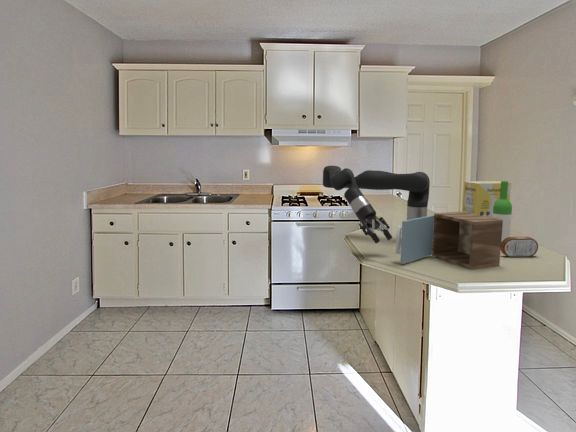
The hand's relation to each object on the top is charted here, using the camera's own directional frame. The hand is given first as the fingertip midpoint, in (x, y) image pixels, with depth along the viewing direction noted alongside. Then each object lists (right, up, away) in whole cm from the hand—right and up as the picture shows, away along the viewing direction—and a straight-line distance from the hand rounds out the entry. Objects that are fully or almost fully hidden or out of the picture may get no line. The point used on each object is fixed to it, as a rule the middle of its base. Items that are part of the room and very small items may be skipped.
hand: (384, 240), depth 184 cm
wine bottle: (+57, -4, +23) cm, 62 cm away
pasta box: (+58, -2, +41) cm, 71 cm away
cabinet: (+32, -8, -1) cm, 33 cm away
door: (+11, -7, 0) cm, 13 cm away
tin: (+57, -7, +6) cm, 58 cm away
